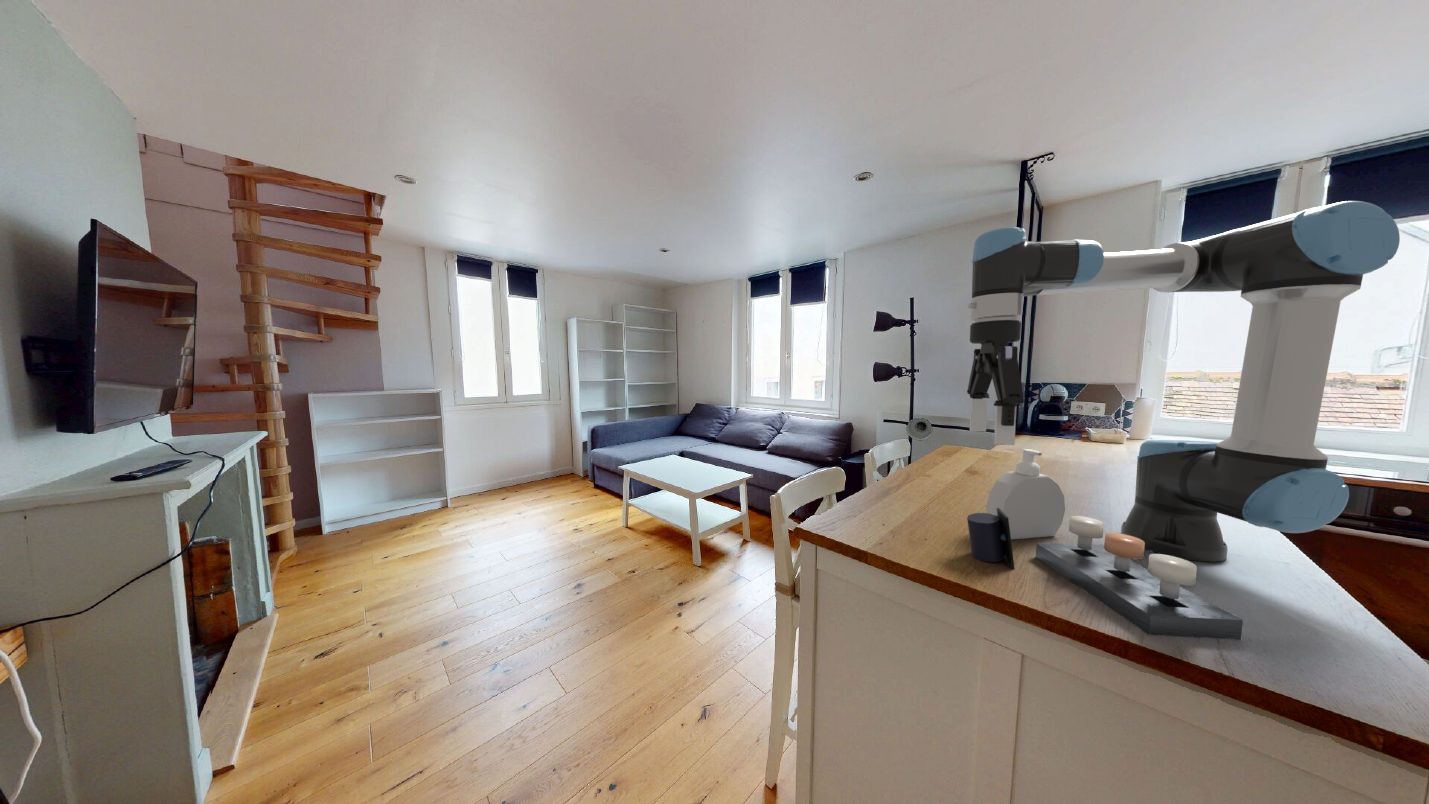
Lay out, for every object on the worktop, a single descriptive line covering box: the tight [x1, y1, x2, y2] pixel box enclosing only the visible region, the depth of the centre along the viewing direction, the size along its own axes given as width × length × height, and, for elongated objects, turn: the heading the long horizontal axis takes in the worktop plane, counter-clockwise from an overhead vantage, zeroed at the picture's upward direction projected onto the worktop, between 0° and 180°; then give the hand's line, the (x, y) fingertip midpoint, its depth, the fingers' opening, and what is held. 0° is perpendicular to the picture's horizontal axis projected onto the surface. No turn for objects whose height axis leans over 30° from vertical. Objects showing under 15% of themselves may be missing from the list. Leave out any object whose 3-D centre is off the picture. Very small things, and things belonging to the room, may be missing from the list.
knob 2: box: [1147, 553, 1198, 599], centre depth 61 cm, size 5×5×6 cm
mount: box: [1035, 542, 1244, 640], centre depth 70 cm, size 12×24×3 cm, turn 174°
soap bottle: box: [986, 448, 1066, 541], centre depth 92 cm, size 16×5×20 cm, turn 98°
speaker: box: [966, 508, 1015, 570], centre depth 82 cm, size 8×6×10 cm
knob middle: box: [1103, 532, 1145, 572], centre depth 69 cm, size 5×5×6 cm
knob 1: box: [1068, 515, 1105, 550], centre depth 77 cm, size 5×5×6 cm
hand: (989, 437), depth 74 cm, fingers open, 13 cm apart
